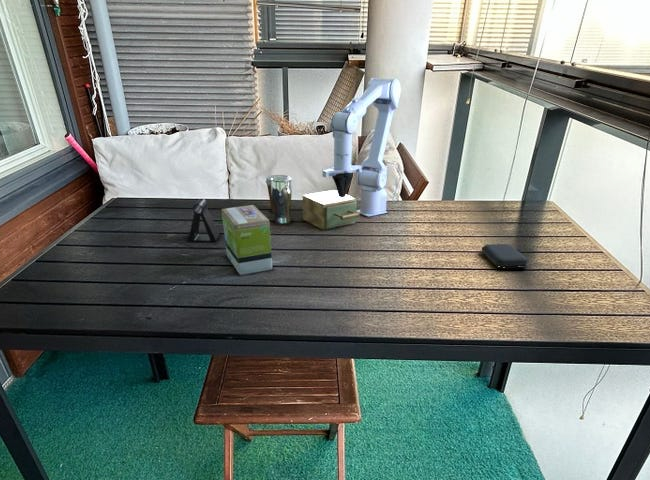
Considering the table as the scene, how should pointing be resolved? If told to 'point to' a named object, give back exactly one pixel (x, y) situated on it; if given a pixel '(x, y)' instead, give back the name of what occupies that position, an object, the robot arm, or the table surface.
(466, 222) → the table surface
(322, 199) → the cabinet
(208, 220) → the phone stand
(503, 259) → the carrying case
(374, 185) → the robot arm
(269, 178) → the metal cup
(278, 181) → the beer glass
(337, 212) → the drawer
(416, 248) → the table surface
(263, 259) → the tea box
